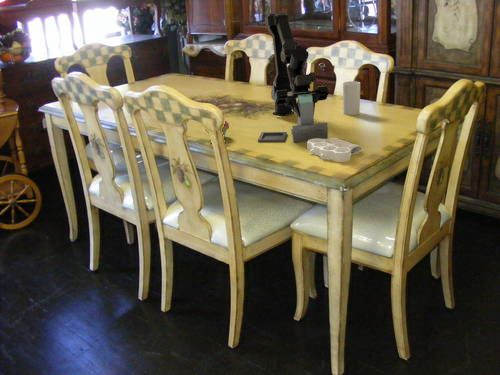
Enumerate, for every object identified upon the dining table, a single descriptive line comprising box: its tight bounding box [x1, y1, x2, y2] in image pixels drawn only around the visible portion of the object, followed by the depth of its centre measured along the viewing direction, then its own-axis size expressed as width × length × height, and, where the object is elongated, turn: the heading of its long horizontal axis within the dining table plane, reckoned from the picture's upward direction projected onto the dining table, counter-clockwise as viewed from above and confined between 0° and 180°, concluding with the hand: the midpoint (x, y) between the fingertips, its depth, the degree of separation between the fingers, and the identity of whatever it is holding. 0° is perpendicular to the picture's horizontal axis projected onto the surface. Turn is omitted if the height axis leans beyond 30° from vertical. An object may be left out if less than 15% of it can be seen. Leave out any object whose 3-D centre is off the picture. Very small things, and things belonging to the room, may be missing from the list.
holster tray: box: [257, 131, 288, 143], centre depth 211 cm, size 9×9×1 cm
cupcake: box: [205, 104, 230, 138], centre depth 213 cm, size 9×8×12 cm
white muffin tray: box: [306, 137, 363, 163], centre depth 193 cm, size 3×18×15 cm
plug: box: [296, 94, 315, 125], centre depth 208 cm, size 4×4×13 cm
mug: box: [342, 80, 361, 116], centre depth 236 cm, size 10×7×12 cm, turn 17°
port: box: [290, 121, 329, 144], centre depth 209 cm, size 10×12×6 cm
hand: (306, 116), depth 207 cm, fingers closed on plug, 4 cm apart
